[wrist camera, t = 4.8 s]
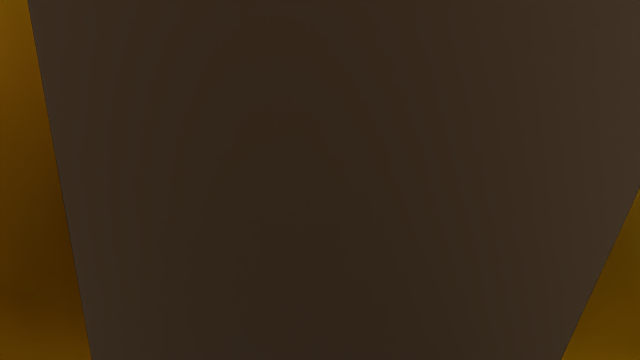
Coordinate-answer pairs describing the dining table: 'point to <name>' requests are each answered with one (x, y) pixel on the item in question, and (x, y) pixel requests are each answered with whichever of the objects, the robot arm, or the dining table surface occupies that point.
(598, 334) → the dining table surface
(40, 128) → the dining table surface
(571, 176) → the walnut batten
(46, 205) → the dining table surface
